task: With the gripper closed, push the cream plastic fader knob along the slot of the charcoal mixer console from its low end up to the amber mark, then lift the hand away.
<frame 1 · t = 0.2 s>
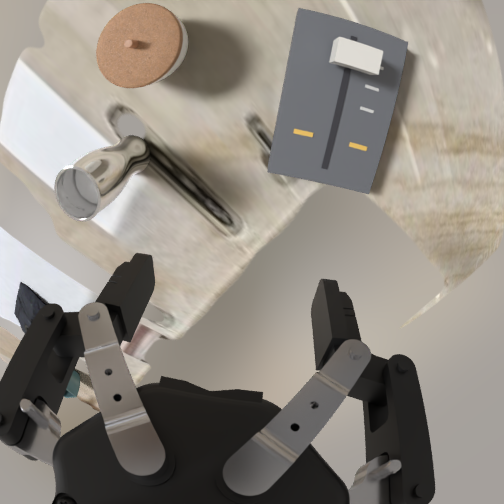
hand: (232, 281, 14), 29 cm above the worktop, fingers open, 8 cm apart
mixer console: (335, 100, 33), on the worktop
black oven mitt: (36, 312, 65), on the worktop
lidded jar: (160, 48, 30), on the worktop
flower pot: (71, 369, 80), on the worktop
beer glass: (132, 154, 39), on the worktop
fader knob: (354, 56, 25), point 5 cm above the worktop, slide at -6.0 cm
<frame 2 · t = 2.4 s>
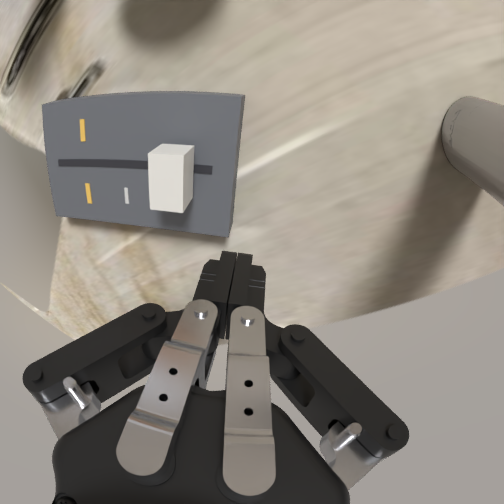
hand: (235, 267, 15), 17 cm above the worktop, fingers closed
mixer console: (137, 155, 29), on the worktop
fader knob: (173, 175, 24), point 5 cm above the worktop, slide at -6.0 cm
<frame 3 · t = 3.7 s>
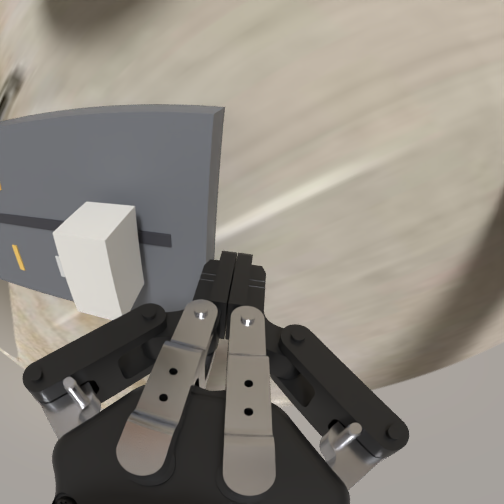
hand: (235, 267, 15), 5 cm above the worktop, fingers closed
mixer console: (72, 203, 18), on the worktop
fader knob: (105, 257, 14), point 5 cm above the worktop, slide at -6.0 cm
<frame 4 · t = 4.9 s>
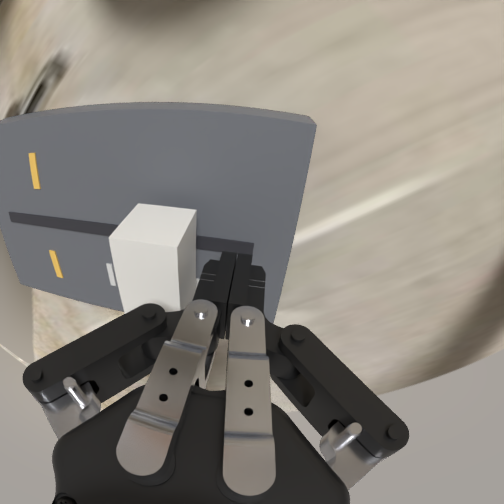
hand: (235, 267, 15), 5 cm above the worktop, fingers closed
mixer console: (123, 206, 18), on the worktop
fader knob: (161, 263, 14), point 5 cm above the worktop, slide at -4.6 cm, touching gripper
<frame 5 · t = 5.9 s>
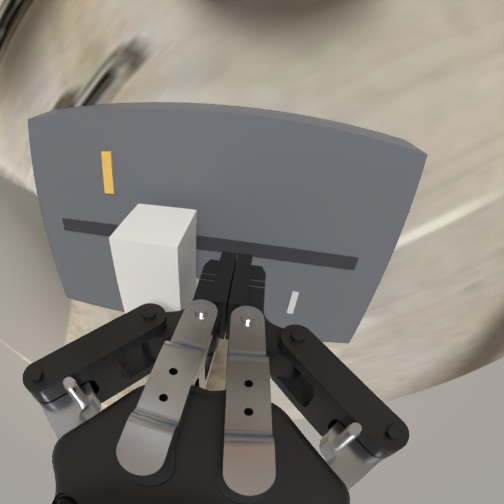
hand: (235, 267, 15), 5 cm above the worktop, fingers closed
mixer console: (206, 216, 18), on the worktop
fader knob: (161, 263, 14), point 5 cm above the worktop, slide at 1.2 cm, touching gripper
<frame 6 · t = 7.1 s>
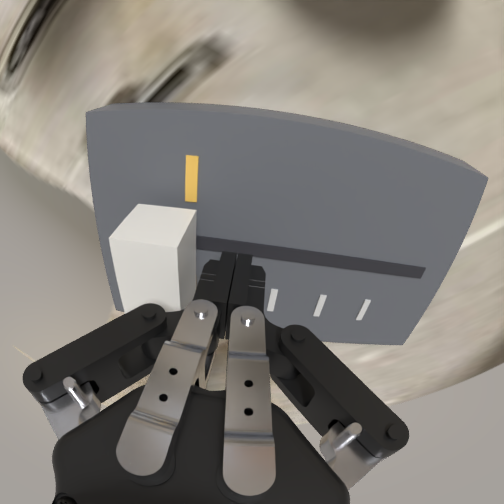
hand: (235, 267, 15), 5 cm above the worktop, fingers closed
mixer console: (281, 226, 18), on the worktop
fader knob: (161, 263, 14), point 5 cm above the worktop, slide at 6.0 cm, touching gripper
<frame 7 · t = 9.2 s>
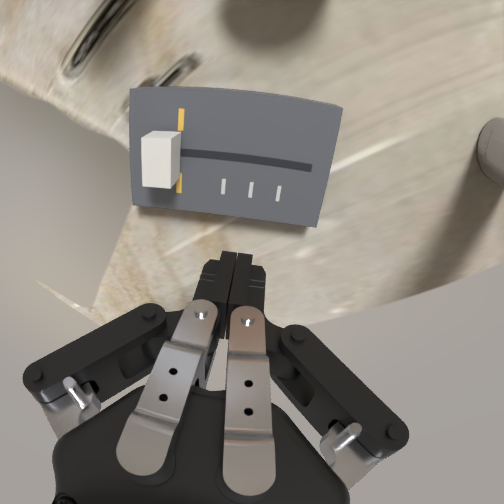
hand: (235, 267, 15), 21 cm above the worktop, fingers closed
mixer console: (229, 149, 32), on the worktop
fader knob: (162, 157, 27), point 5 cm above the worktop, slide at 6.1 cm
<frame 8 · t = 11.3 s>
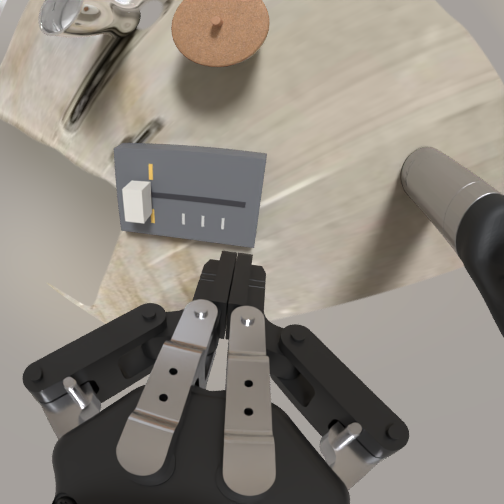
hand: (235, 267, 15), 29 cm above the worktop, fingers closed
mixer console: (188, 189, 44), on the worktop
lidded jar: (229, 32, 30), on the worktop
beer glass: (123, 20, 28), on the worktop
fader knob: (138, 200, 39), point 5 cm above the worktop, slide at 6.1 cm
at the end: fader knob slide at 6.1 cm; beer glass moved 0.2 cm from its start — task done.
